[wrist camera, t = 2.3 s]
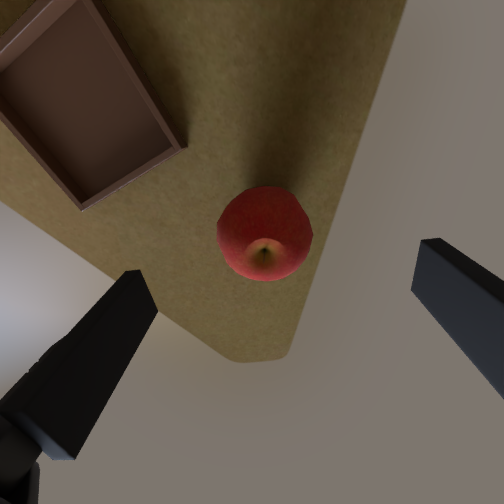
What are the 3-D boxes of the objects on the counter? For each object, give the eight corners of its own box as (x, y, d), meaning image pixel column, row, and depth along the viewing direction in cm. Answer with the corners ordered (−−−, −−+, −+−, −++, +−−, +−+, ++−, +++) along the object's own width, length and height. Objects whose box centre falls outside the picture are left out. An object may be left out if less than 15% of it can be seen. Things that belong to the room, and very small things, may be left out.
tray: (88, -21, 23) (70, -36, 21) (188, 147, 30) (182, 149, 27) (-14, 79, 27) (-39, 76, 25) (93, 205, 34) (81, 211, 32)
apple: (215, 223, 34) (188, 280, 22) (248, 158, 30) (237, 185, 18) (277, 255, 36) (283, 323, 24) (317, 198, 32) (348, 247, 20)
